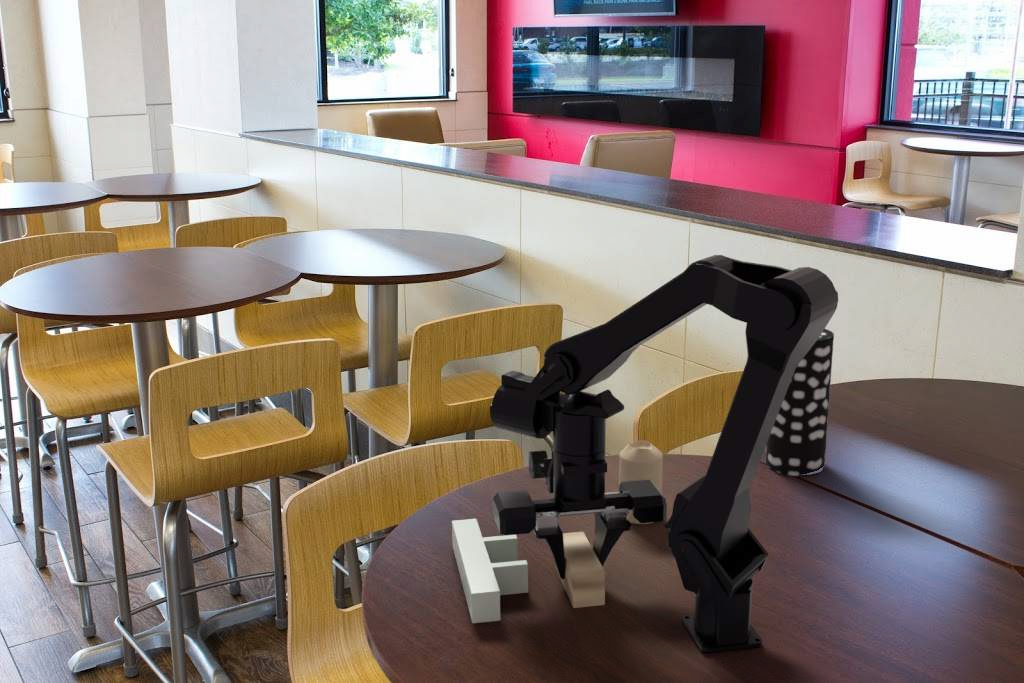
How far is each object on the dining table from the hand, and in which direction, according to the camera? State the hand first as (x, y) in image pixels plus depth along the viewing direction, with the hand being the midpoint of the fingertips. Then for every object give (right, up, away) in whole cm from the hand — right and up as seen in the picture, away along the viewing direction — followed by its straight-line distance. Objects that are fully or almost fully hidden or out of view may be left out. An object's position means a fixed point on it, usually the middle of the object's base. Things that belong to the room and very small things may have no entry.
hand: (578, 575), depth 115 cm
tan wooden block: (0, -1, 0) cm, 1 cm away
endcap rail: (-10, -1, +1) cm, 10 cm away
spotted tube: (+34, +8, +33) cm, 48 cm away
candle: (+9, +4, +17) cm, 20 cm away
